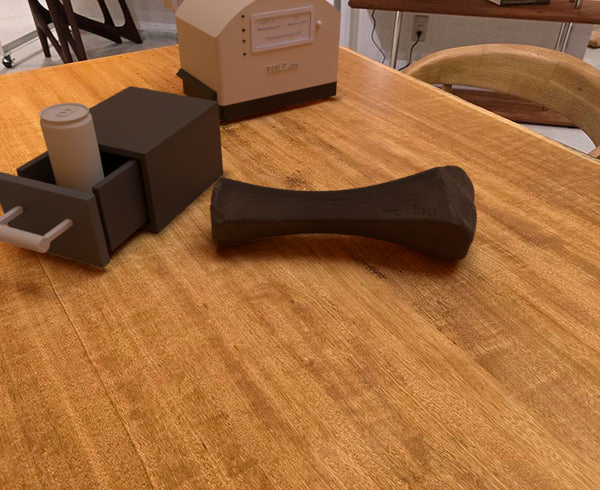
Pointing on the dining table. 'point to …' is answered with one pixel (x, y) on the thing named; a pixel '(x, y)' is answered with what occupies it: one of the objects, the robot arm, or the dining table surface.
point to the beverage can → (72, 146)
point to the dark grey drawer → (73, 209)
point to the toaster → (257, 52)
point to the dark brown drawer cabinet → (163, 145)
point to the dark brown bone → (355, 212)
